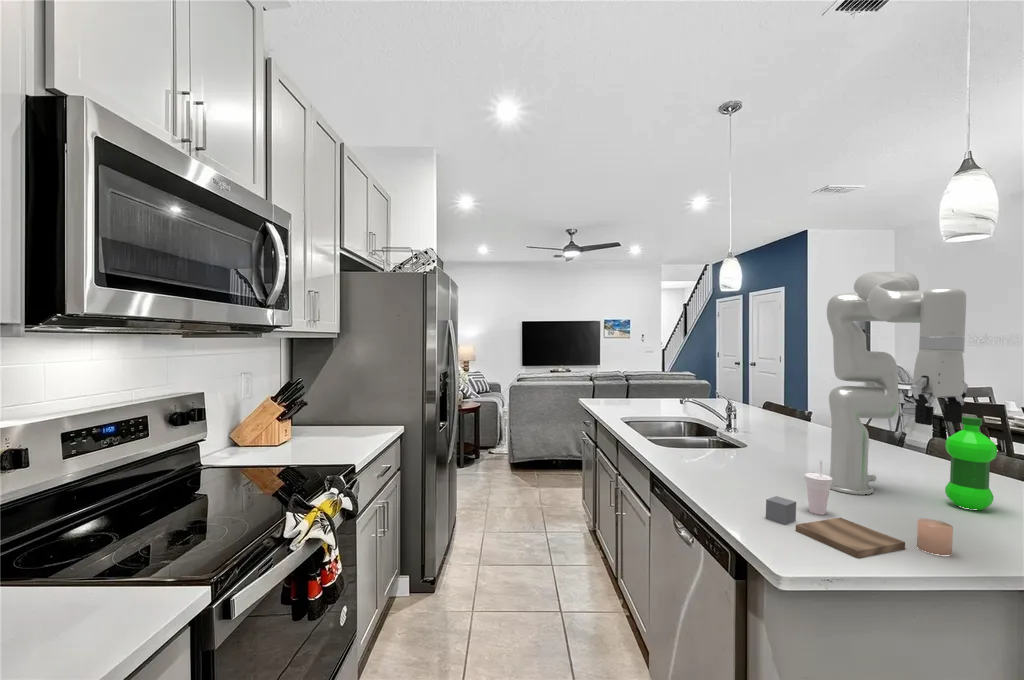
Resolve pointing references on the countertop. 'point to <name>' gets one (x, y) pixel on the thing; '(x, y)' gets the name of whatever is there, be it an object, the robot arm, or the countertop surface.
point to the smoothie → (818, 491)
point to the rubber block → (781, 510)
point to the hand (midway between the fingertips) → (938, 423)
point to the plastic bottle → (970, 466)
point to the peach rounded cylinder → (934, 536)
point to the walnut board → (850, 537)
